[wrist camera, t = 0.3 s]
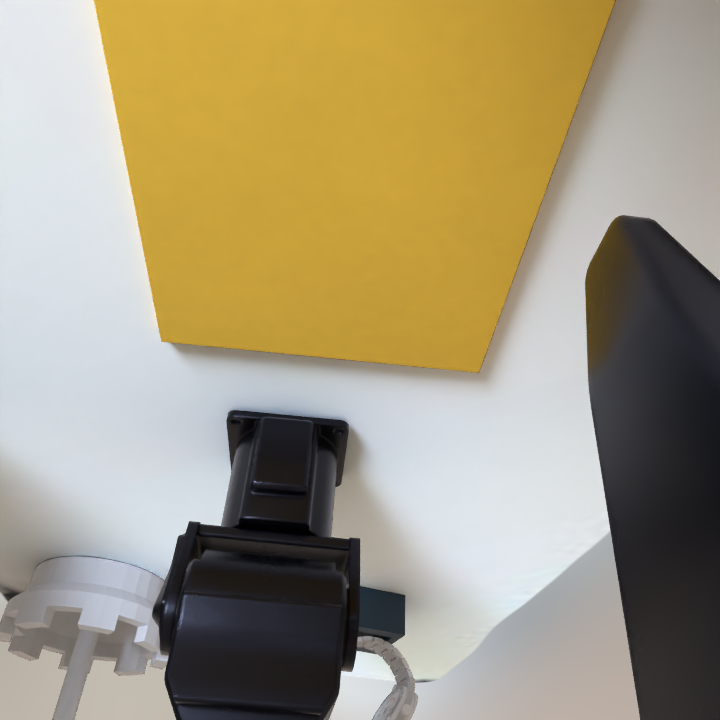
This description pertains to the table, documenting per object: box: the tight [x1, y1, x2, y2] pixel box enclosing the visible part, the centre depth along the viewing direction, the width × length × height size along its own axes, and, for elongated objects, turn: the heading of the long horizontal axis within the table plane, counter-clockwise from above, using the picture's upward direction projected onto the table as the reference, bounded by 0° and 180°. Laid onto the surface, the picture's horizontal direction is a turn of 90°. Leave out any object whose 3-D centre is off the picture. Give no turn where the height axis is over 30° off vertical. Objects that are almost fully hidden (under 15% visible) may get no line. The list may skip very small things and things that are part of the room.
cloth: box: [94, 0, 616, 373], centre depth 25 cm, size 19×15×1 cm
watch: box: [329, 587, 418, 720], centre depth 53 cm, size 6×8×11 cm
